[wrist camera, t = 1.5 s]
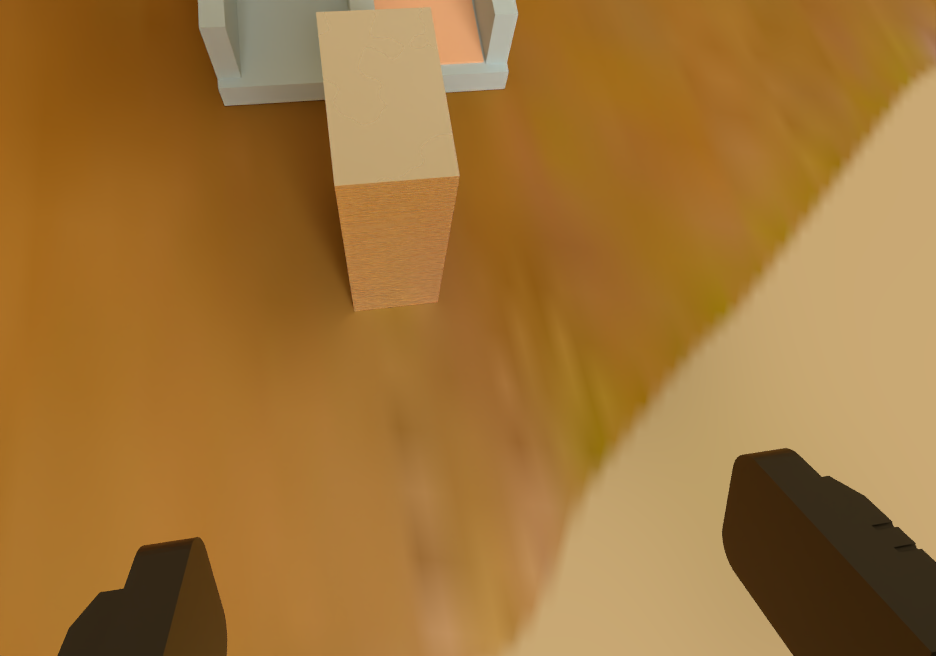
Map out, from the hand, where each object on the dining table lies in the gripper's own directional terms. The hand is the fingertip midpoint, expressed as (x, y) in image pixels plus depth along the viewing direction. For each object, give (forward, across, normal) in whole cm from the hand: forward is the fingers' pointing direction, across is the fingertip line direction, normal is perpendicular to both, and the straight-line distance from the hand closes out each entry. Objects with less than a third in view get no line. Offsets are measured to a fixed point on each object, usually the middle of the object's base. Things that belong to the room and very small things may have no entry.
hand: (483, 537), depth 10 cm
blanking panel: (+20, 0, +2) cm, 20 cm away
